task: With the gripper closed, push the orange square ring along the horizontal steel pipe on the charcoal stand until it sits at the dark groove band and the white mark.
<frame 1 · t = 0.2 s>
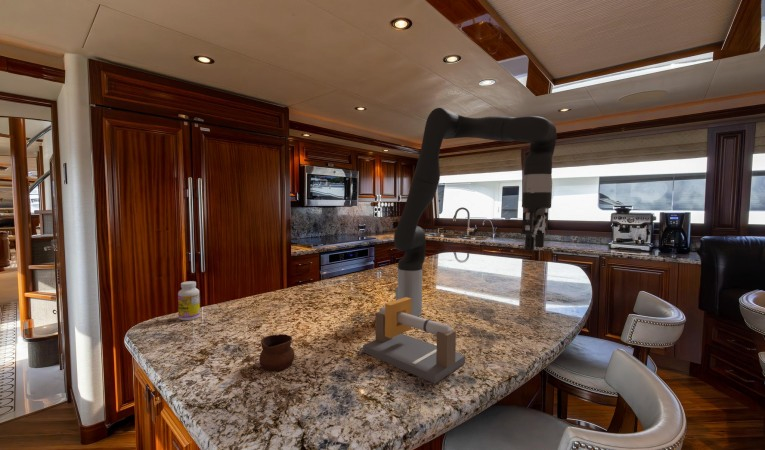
hand: (534, 248, 94), 29 cm above the kitchen island, tool pointing down, fingers open, 8 cm apart
pipe stand: (412, 357, 90), on the kitchen island
orange square ring: (398, 316, 93), point 10 cm above the kitchen island, slide at 0.0 cm
supplement bottle: (189, 318, 120), on the kitchen island
ceramic pot: (277, 366, 86), on the kitchen island
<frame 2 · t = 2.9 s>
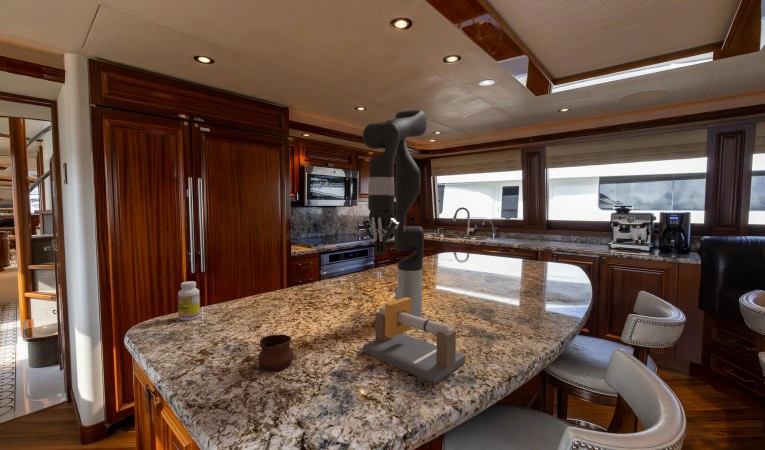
hand: (380, 253, 97), 27 cm above the kitchen island, tool pointing down, fingers closed
nothing on the kitchen island moved.
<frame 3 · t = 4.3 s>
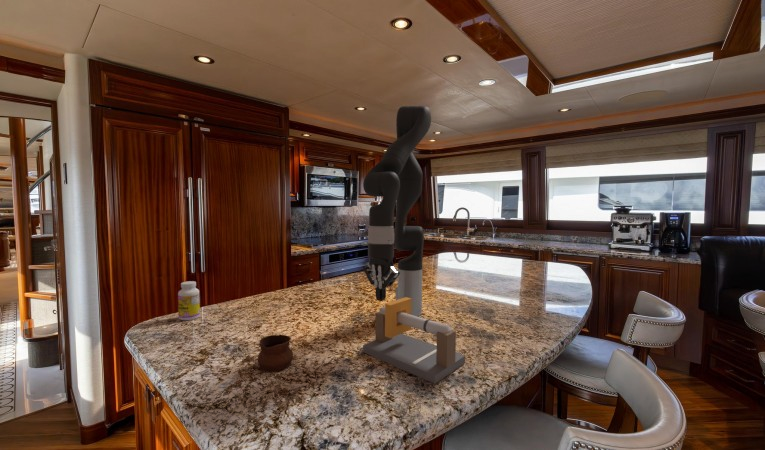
hand: (380, 300, 97), 13 cm above the kitchen island, tool pointing down, fingers closed
nothing on the kitchen island moved.
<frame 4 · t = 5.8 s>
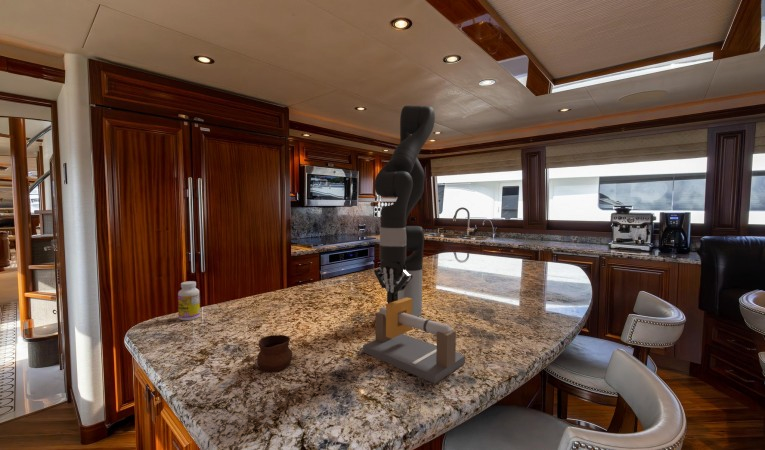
hand: (392, 304, 94), 13 cm above the kitchen island, tool pointing down, fingers closed
orange square ring: (399, 317, 93), point 10 cm above the kitchen island, slide at 0.3 cm, touching gripper
everything else where it was.
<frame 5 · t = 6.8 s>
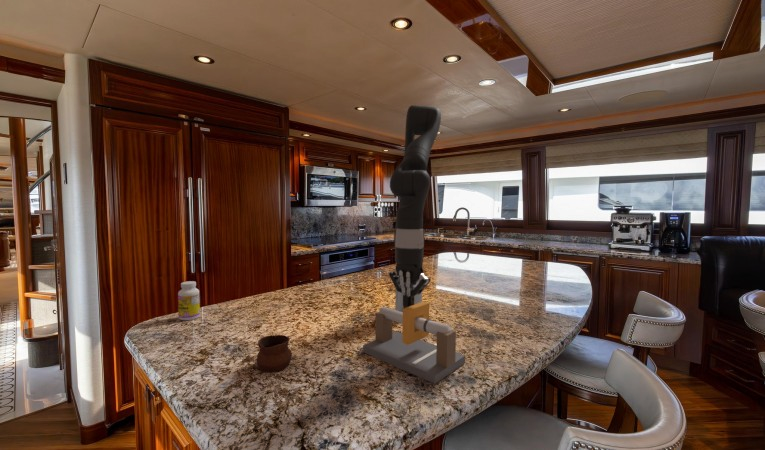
hand: (408, 308, 90), 13 cm above the kitchen island, tool pointing down, fingers closed
orange square ring: (416, 322, 89), point 10 cm above the kitchen island, slide at 6.1 cm, touching gripper
everything else where it was.
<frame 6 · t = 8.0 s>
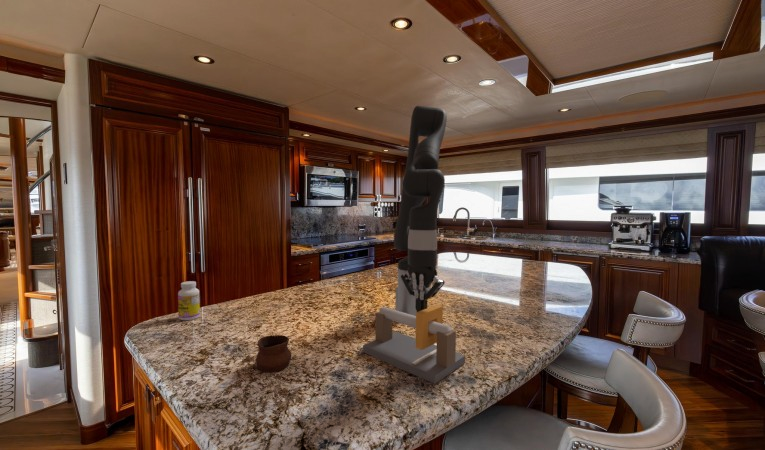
hand: (421, 312, 87), 13 cm above the kitchen island, tool pointing down, fingers closed
orange square ring: (429, 326, 86), point 10 cm above the kitchen island, slide at 10.4 cm, touching gripper
everything else where it was.
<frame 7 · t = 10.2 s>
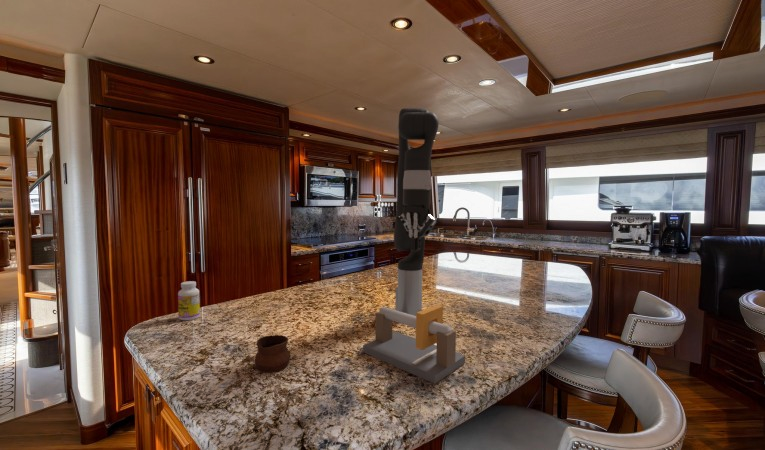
hand: (415, 251, 92), 29 cm above the kitchen island, tool pointing down, fingers closed
orange square ring: (429, 326, 86), point 10 cm above the kitchen island, slide at 10.5 cm
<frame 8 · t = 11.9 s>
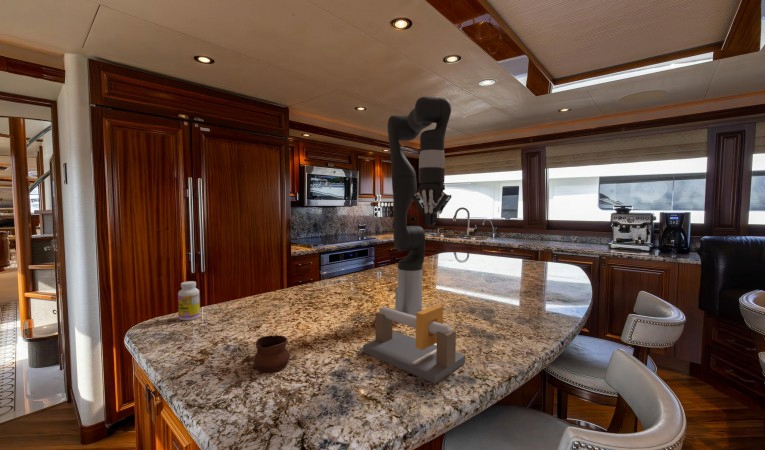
hand: (430, 226, 99), 35 cm above the kitchen island, tool pointing down, fingers closed
at the end: orange square ring slide at 10.5 cm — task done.
